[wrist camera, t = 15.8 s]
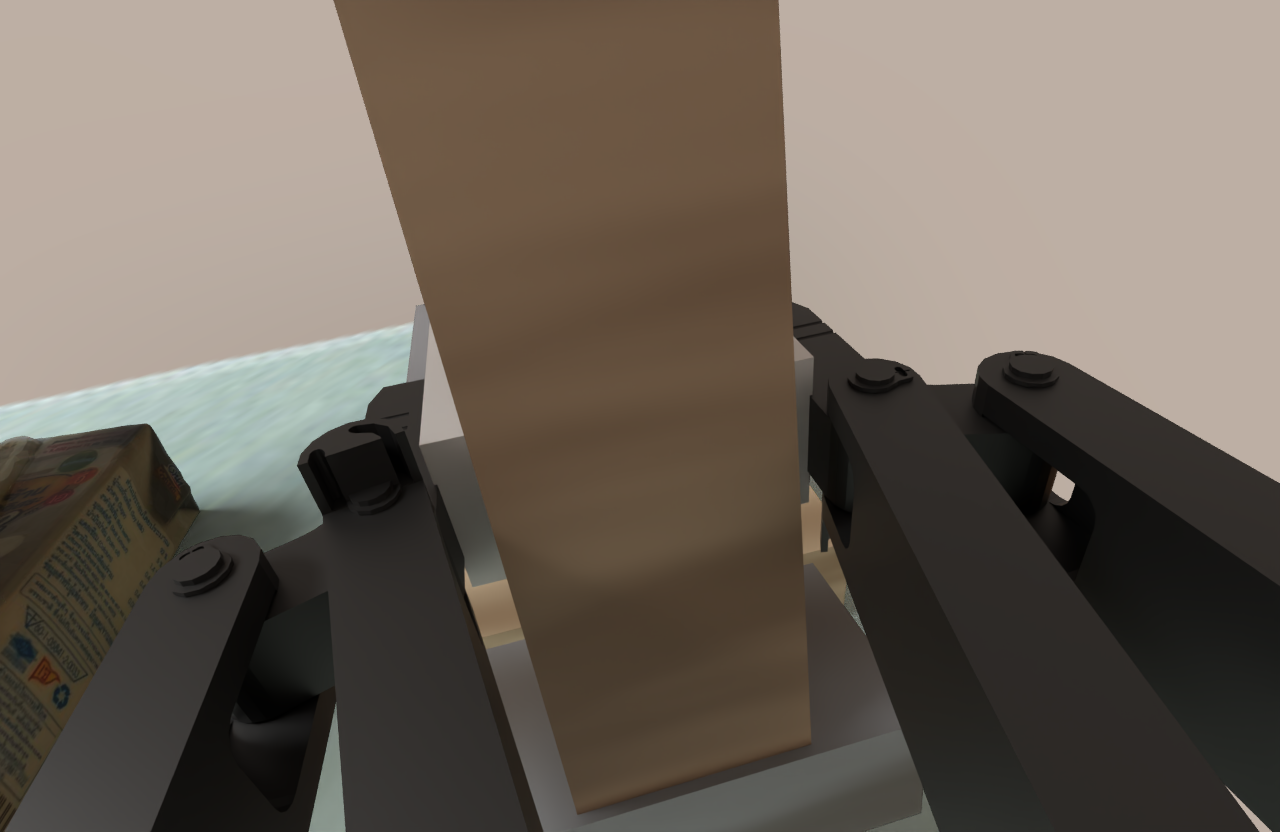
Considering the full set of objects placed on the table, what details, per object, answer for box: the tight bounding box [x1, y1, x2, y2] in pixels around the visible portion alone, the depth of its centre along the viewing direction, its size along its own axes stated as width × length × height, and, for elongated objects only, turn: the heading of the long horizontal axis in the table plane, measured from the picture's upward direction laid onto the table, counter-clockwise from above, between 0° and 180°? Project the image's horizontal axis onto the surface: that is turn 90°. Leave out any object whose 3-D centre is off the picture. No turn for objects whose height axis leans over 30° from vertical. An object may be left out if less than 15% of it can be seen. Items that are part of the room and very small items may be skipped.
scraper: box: [334, 0, 923, 832], centre depth 11 cm, size 4×8×14 cm, turn 103°
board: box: [465, 485, 846, 649], centre depth 28 cm, size 14×16×4 cm
